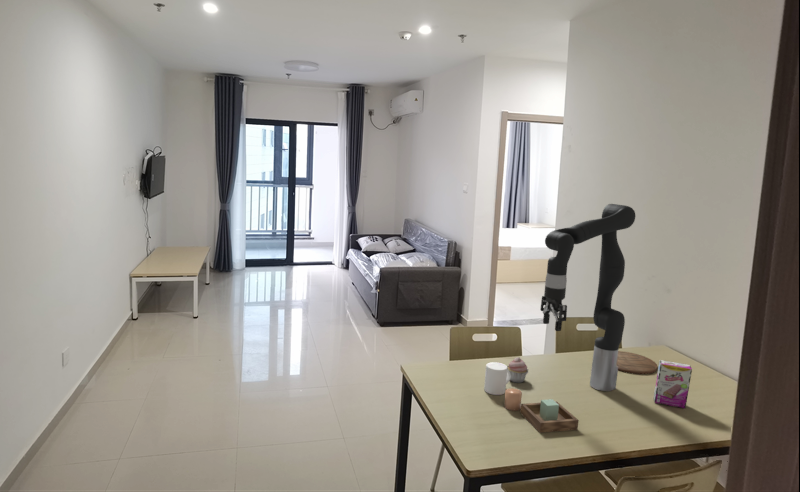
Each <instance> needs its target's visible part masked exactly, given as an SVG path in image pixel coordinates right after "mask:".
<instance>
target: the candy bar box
mask: <svg viewBox="0 0 800 492" xmlns="http://www.w3.org/2000/svg"><path fill="white" fill-rule="evenodd" d="M692 372H693V368H692V367H691V364H686V363H680V362H676V361H675V362H673V361H668V360H662V359H659V361H658V365H657V373H656V380H655V387H654V392H653V401H654V403H655V404H657V405H658V404H660V405H664V406H669V407H675V408H680V409H686V408H687V402H688V401H687V400H688V397H689V396H688V395H689V389H690V384H691V380H692V379H691V377H692Z"/></svg>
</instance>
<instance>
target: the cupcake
mask: <svg viewBox="0 0 800 492" xmlns="http://www.w3.org/2000/svg"><path fill="white" fill-rule="evenodd" d="M506 366H507V370H508V371H509V372H510V376H511V377H510V380H509V382H513V383H515V384H516V383H517V384H518V383H520V384H521V383H523V382H524V381H525V379H526V376H527V374H528V373H529V369H528V366H527V364H526V362H525V361H524V360H522V358H520V357H519V356H518V357H515V358H513V360H511V361H510V362H509V363H508V365H506Z"/></svg>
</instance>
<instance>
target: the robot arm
mask: <svg viewBox="0 0 800 492" xmlns="http://www.w3.org/2000/svg"><path fill="white" fill-rule="evenodd" d="M635 211H636V210H634V209H633V207H631V206H629V205H624V204H618V203H617V204H615V203H609V204H606V205H605V207H604V208H603V210H602V212H601V213H602V214H601V218H597V219H589V220H586V221H585V220H584V221H582V222H579V223H577V224H574V225H572V226H569V227H563V228H558V229H555V230H552V231H550V232H549V233H548V234H547V235H546V236H545V239H544V244H545V246H546V248H548V249H549V250H551V251H555V252H557V253H556V256H552V257H549V258H548V261H547V268H546V275H545V281H544V283H545V284H544V294H543V295H542V296H541V302H540V311H541V312H542V314H543V318H542V319H543V320H542V323H543V324H544V325H548V324H550V318H551V316H550V315H551V313H552V315H553V317H554V318H555V324H554V325H555V326H554V331H555V332H561V331H562V326H563V322H566V321H567V312H568V306H567V304H563V303H562V302H563V300H564V299H565V298H566V292H567V291H566V290H567V271H568V263H569V261H570V259H571V256H572V253H573V250H574V247H575V245H579V244H582V243H585V242H587V241H589V240H591V239H593V238H596V237H600V236H601V248H600V249H601V252H600V261H599V274H598V276H599V277H598V287H597V293H596V294H597V295H596V301H595V305H594V311H593V323H594V325H595V326H596V327H597V328H599V329H601V330H603V331H604V335H603V336H598V337H596V338H595V339H594V347H593V356H592V363H591V369H590V371H591V372H590V377H589V378H590V381H589V386H590V387H591V388H593V389H595V390H598V391H601V392H611V391H613V390H616V388H617V380H618V373H619V371H618V366H616V365H617V357H618V351H619V348H620V345H621V342H622V341H623V334H624V329H625V324H626V319H625V315H624V313H622V312H621V311H620V310H617V309H614V308H612V300H613V295H614V293H615V292H616V290H617V289H618V288H619V286H620V285H621V284H622V281H623V280H624V277H625V269H626V267H625V266H626V265H625V264H626V259H625V257H624V254H623V252H622V250H621V247H620V244H619V242H618V236H617V233H618V231H621V230H627V229H629V228H630V227H632V225H634V223H635V220H636V212H635Z"/></svg>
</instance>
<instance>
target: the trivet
mask: <svg viewBox="0 0 800 492" xmlns="http://www.w3.org/2000/svg"><path fill="white" fill-rule="evenodd" d="M616 366H618V372H622V373H626V372H627V374H632V373H633V375H649V374H650V375H651V374H654V373H656V371H657V372H658V364H657V363H656V361H654V360H652V359H651V358H649V357H646V356H645V355H642V354H637V353H633V352H629V351H622V350H618V357H617V365H616Z"/></svg>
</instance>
